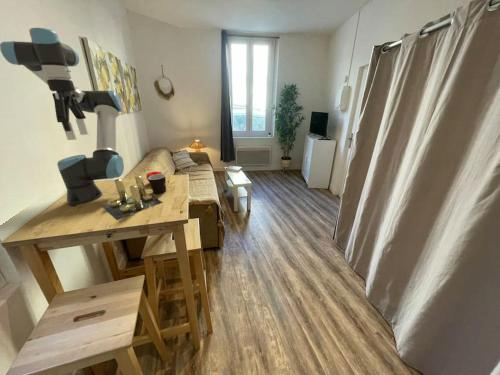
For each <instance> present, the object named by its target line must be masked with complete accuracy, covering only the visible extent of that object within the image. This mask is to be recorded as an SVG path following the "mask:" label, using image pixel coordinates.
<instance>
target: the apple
mask: <svg viewBox="0 0 500 375" xmlns="http://www.w3.org/2000/svg"><path fill="white" fill-rule="evenodd" d="M156 174H163V173H162V172H161V171H150V172H147V173H146V176H145V177H146V179H147V181H148V182H149V179H148V177H150V176H152V175H156ZM149 184H150V182H149Z"/></svg>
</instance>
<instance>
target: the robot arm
mask: <svg viewBox="0 0 500 375" xmlns="http://www.w3.org/2000/svg"><path fill="white" fill-rule="evenodd" d="M29 36H30V38H31V41H15V40H12V41H2V42H1V43H0V53H1V55H2V56H3V58H4V59H5V60H6V61H7V62H8V63H9V64H11V65H14V66H24V67H25V68H26V69H27V70H29V72H31V73H33V74H34V75H35V76H36V77H37V78H38V79H40V80H41V81H42V82H44V83H45V84H46V85H48V90H50V91H51V92H52V97H53V103H54V111H55V116H56V121H57V123H61V125H62V127H63V131H64V133H65V135H66V136H65V137H66V138H67V139H66V140H67V141H73V140H74V141H75V140H77V135H76V133H75V130H74V126H73V123H72V122H71V121H70V111H71V113H72V115H73V116H74V117H75V123H76V125H77V128H78V132H79V134H80V136H82V135H83V136H84V135H85V136H86V135H89V131H88V128H87V125H86V122H85V120H86V118H87V117H86V116H85V113H90V114H94V113H95V115H96V150H94V151H93V152H92V156H91V157H87V156H86V154H77V155H73V156H68V157H66V158H65V157H64V158H62V159H60V160H58V161H57V163H56V164H57V167H58V172H59V173H60V176H61V178H62V181H63V184H64V186H65V188H66V203H67V204H68V206H71V207H76V206H79V205H82V204H87V203H90V202H94V201H96V200H98V199H99V198H101V197H102V196H103V192H102V191H101V189H100V188H99V187H98V186H97V185H96V183H95V181H101V180H112V179H119V178H120V177H121V176H122V175H123V173H124V171H125V170H124V169H125V164H124V159H123V157H122V156H121V155H120V154H119V153H118V152H117V134H116V133H117V131H116V129H117V126H116V120H117V118H118V117H119V116H120V114H119V113H121V112H123V111H124V110H123V105H122V104H123V103H122V102H121V99H120V96H119V95H118V93H117V92H116V91H115V90H107V89H106V90H81V89H80V88H79V87H77V86H75V84H74V82H73V81H72V76H71V70H70V69H69V67H75V66H78V64H79V62H80V57H79V54H78V53H77V51H76V50H75V49H74V48H73V47H71V46H70V45H68V44H65V43H63V42H61V40H60V38H59V35H58V33H57V32H56V31H55V30H53V29H49V28H43V27H32V28H29ZM53 92H54V93H53Z"/></svg>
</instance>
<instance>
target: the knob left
mask: <svg viewBox="0 0 500 375" xmlns="http://www.w3.org/2000/svg"><path fill="white" fill-rule="evenodd" d="M134 181H135V185H137V186H138V190H139V194H140V197H143V200H144V201H149V200H151V199H153V197H154V196H153V194H152V193H147V191H146V188H145V184H144V183H145V182H144V179H143V175H136V176H134Z"/></svg>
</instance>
